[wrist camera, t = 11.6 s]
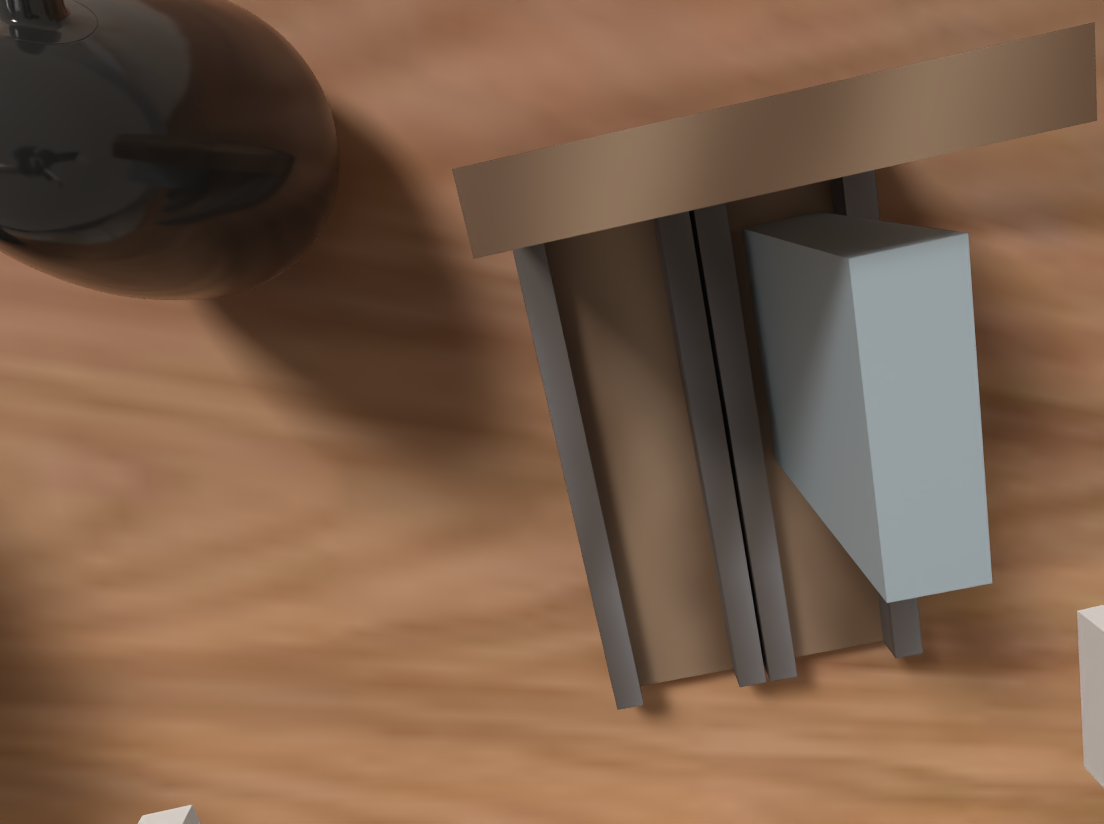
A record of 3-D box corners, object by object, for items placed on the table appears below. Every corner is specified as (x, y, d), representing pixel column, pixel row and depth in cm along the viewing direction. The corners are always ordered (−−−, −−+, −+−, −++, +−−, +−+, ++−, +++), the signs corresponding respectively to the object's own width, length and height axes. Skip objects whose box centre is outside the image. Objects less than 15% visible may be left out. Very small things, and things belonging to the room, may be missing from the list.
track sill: (611, 678, 39) (647, 974, 25) (496, 171, 32) (452, 169, 18) (902, 623, 38) (1115, 896, 24) (845, 91, 31) (1094, 22, 17)
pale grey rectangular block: (775, 460, 35) (887, 602, 23) (741, 228, 32) (848, 259, 20) (845, 446, 34) (992, 583, 23) (816, 211, 32) (968, 233, 20)
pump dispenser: (378, 35, 31) (223, -89, 16) (347, 301, 34) (192, 399, 19) (108, -19, 30) (-302, -198, 16) (101, 256, 33) (-252, 321, 19)
